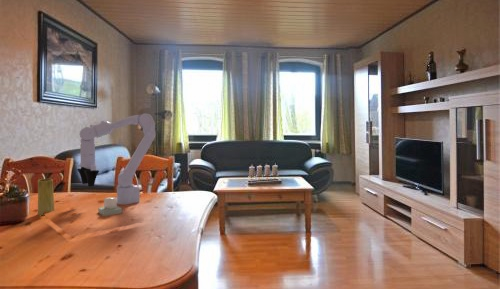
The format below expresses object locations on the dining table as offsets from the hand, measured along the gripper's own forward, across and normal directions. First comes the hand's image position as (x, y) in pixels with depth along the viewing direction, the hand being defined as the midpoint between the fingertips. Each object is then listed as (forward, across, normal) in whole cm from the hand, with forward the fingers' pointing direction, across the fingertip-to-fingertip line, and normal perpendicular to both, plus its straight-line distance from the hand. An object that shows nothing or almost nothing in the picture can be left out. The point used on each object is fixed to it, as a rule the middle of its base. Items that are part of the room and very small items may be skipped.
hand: (88, 185), depth 141 cm
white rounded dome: (+7, +19, +2) cm, 20 cm away
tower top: (+9, +19, +2) cm, 21 cm away
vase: (+11, -2, -16) cm, 19 cm away
